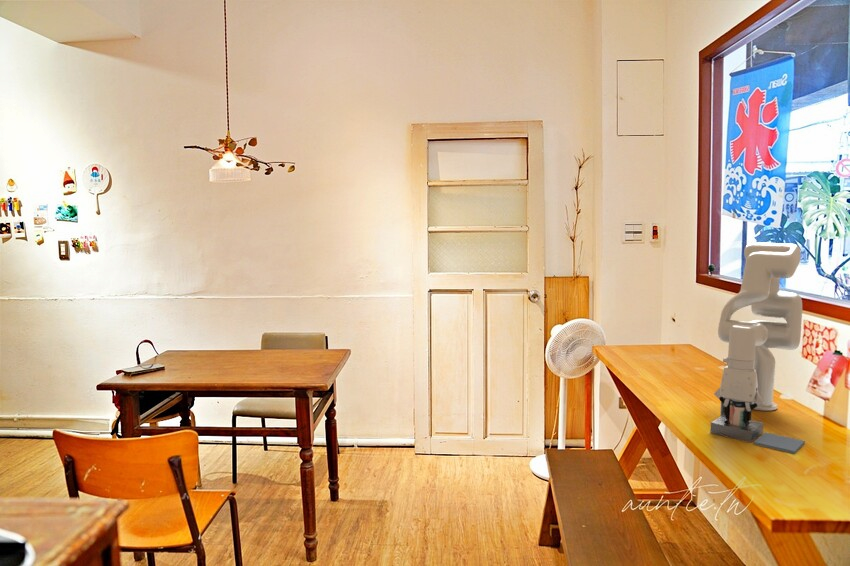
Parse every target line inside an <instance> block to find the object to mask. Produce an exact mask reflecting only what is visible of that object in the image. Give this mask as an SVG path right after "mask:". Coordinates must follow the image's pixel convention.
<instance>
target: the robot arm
mask: <svg viewBox="0 0 850 566" xmlns="http://www.w3.org/2000/svg"><path fill="white" fill-rule="evenodd" d="M743 255H744V259H745V264H744V268H743V275H742V278H741V279H742V280H741V284H740V285H741V286H740V290H739V292H738V293H736V294H735V295H734V296H733V297H731V298H730V299H729V300H728V301H727V302H726V304H725V305H724V306H723V307H722V310H721V313H720V318H719V322H718V326H717V327H718V329H717V334H718V338H719V340H720V341H722V342H724V343H728V352H727V357H726V358H725V357H723V359H722V362H723V363H725V364H726V365H725V366H724V368H723V371H722V375H721V380H720V387H719V388H718V389H717V390H716V391H714V393H713V394H714V396H715V397H716V398H717V399H718V400H719V401H720V403H721V402H722V403H723V405H724V406H725V411H724V415H725V416H726V419H729V410H730V399H731V400H736V401H742V402H745V405H746V410H745V411H744V423H748V422H749V421H750V420H752V411H753V410H755V411H767V412H769V411H770V412H771V411H775V410H777V409H778V404H777V403H775V402H774V388H775V387H774V386H775V372H776V371H775V370H776V358H775V356H774V354H773V353H772V352H771V350H770V349H776V350H787V351H794V350H797V349H798V347H799V346H800V343H801V337H802V336H801V334H802V333H801V332H802V323H803V321H802V317H803V300H802V298H801V296H800V294H798V293H796V292H791V291H790V292H789V291H780V280H781V279H790V278H792V277H793V276H794V274H795V273H796V271H797V268H798V266H799V264H800V262H801V257H802V252H801V248H800V246H798V245H797V244H795V243H780V242H779V243H778V242H777V243H776V242H753V243H752V242H751V243H749V244H747V245H746V246H745V247H744V250H743ZM749 306H751V307H750V308H751V312H752V314H753V315H755V316H758V317H761V318H762V317H764V318H773V319H783V320H785V321H786V322H784V321H783V322H782V321H772V320H765V319H764V320H763V319H761V320H760V319H755V320H751V321H745V320H733V319H732V317H733V315H734V314H735V313H736V312H738V311H739V310H741V309H742V308H746V307H749Z"/></svg>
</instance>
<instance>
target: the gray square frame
mask: <svg viewBox="0 0 850 566" xmlns="http://www.w3.org/2000/svg"><path fill="white" fill-rule="evenodd" d="M709 429H710V434H712V435H717V436H722V437H725V438H729V439H733V440H737V441H742V440H744V441H743V442H746V441H747V442H746V443H750V442H751V443H753V442H754V441H755V440H757V439H758V438H759V437H760V436H761V435H763V434H764V433H763V431H764V422H762V421H758V420H753V419H751V420H750V421H749V422H748V423H746V424H745V427H741V426H737V425H732V424H729V419H726V416H725V415H724V414H723V415H722V416H719V417H717V418H716V419H714V420H713V421H711V422H710V428H709Z"/></svg>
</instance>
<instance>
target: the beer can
mask: <svg viewBox="0 0 850 566" xmlns="http://www.w3.org/2000/svg"><path fill="white" fill-rule="evenodd" d="M745 410H746V405H745V402H742V401H736V400H731V399H730V410H729V424H732V425H737V426H741V427H745V424H746V423H744V411H745Z"/></svg>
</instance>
